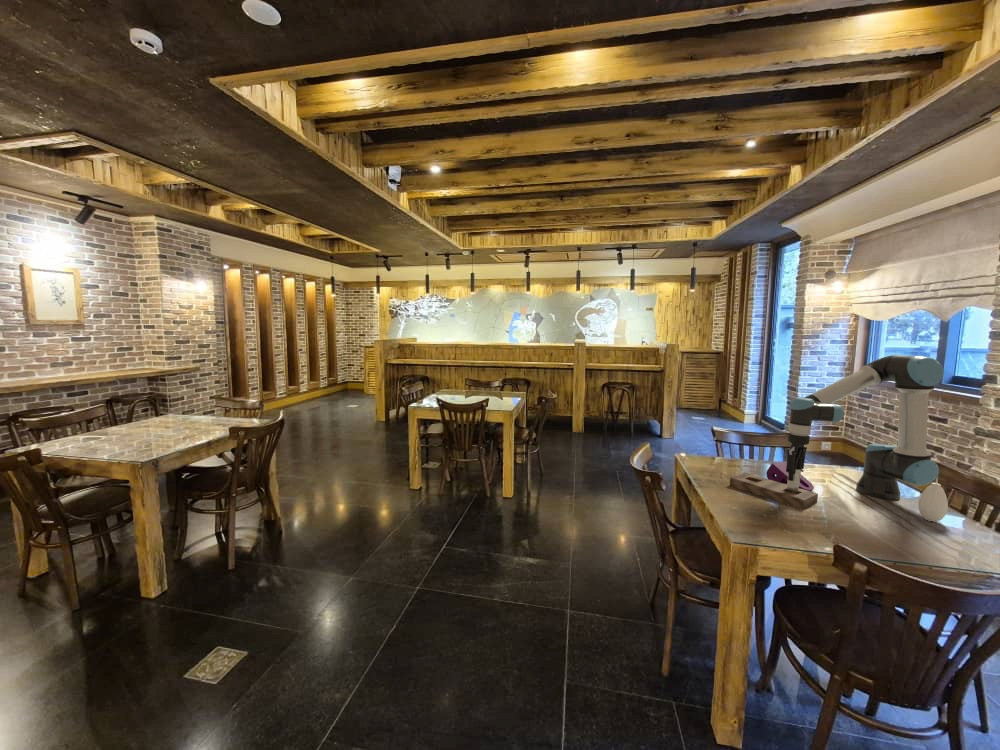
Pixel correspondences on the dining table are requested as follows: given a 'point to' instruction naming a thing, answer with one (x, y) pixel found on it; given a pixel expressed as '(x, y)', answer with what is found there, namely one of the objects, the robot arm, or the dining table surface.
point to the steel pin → (795, 490)
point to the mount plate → (773, 490)
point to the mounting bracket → (786, 476)
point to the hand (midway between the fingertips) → (792, 486)
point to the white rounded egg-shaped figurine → (933, 503)
